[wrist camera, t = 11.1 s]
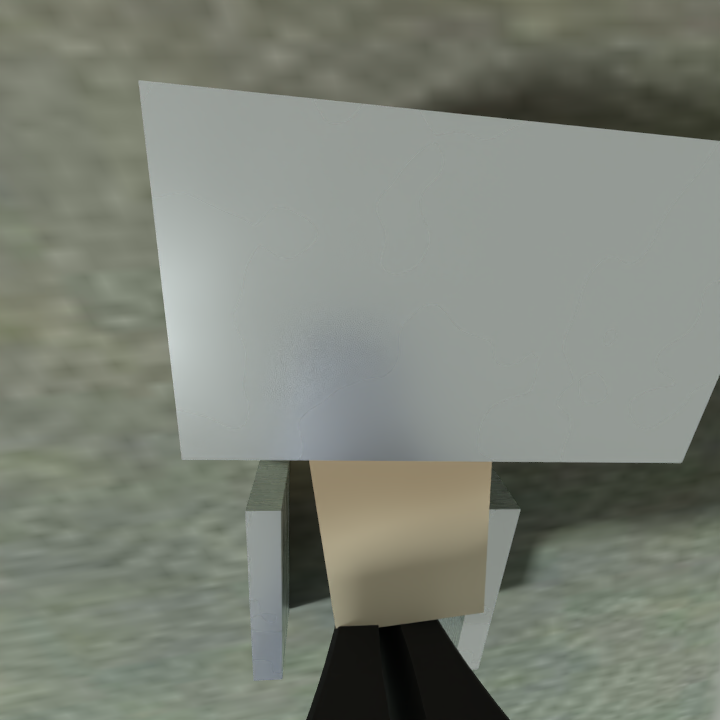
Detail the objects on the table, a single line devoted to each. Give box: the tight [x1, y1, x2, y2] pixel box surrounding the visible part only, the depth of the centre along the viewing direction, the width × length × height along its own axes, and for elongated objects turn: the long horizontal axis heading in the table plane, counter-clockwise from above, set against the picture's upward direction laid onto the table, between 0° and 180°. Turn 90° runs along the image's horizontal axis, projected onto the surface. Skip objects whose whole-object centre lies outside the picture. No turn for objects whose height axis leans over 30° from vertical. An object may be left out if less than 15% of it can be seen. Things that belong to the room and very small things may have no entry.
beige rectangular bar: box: [309, 460, 492, 628], centre depth 8 cm, size 8×3×4 cm, turn 5°
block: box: [139, 80, 720, 463], centre depth 6 cm, size 4×7×5 cm, turn 86°
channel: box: [245, 460, 521, 681], centre depth 11 cm, size 6×7×2 cm
